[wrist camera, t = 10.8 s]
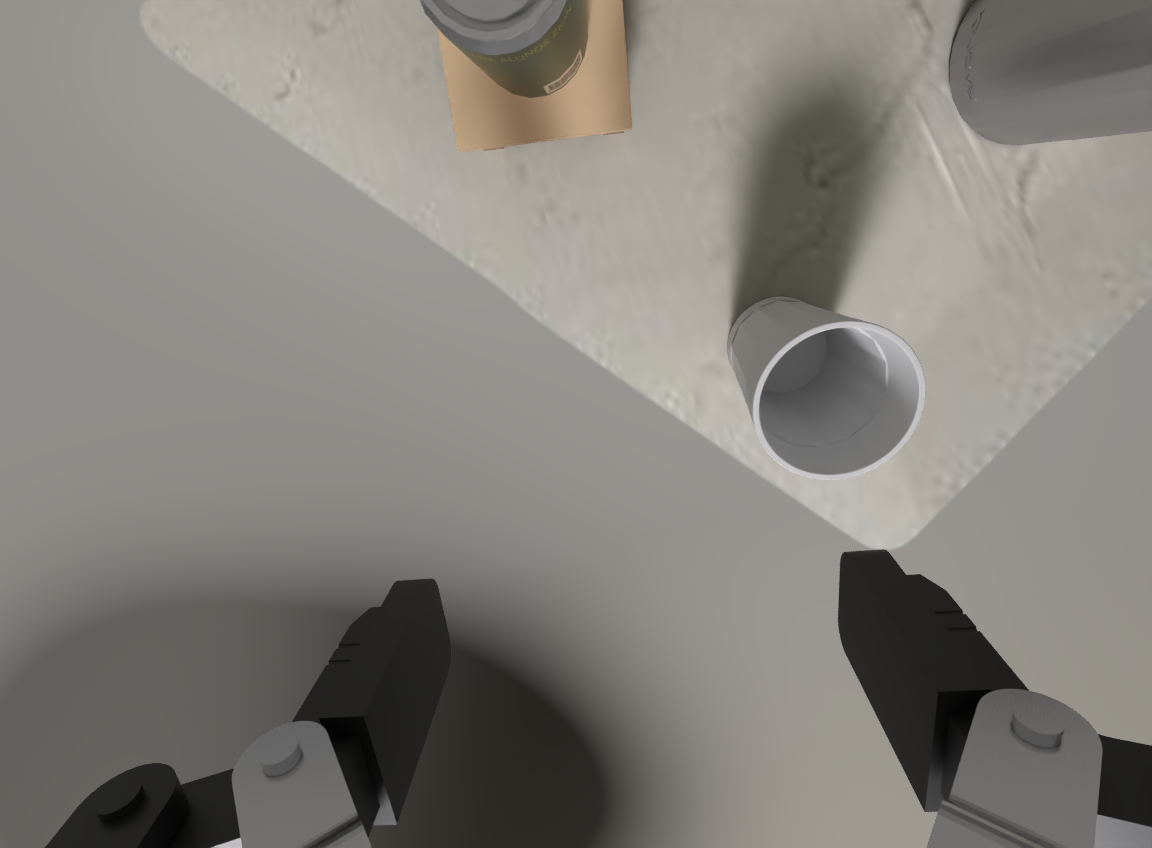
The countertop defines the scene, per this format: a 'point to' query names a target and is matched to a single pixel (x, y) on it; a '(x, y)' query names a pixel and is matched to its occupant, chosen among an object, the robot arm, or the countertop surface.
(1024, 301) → the countertop surface
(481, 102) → the stool
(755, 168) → the countertop surface
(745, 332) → the cup
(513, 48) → the green soda can
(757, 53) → the countertop surface
